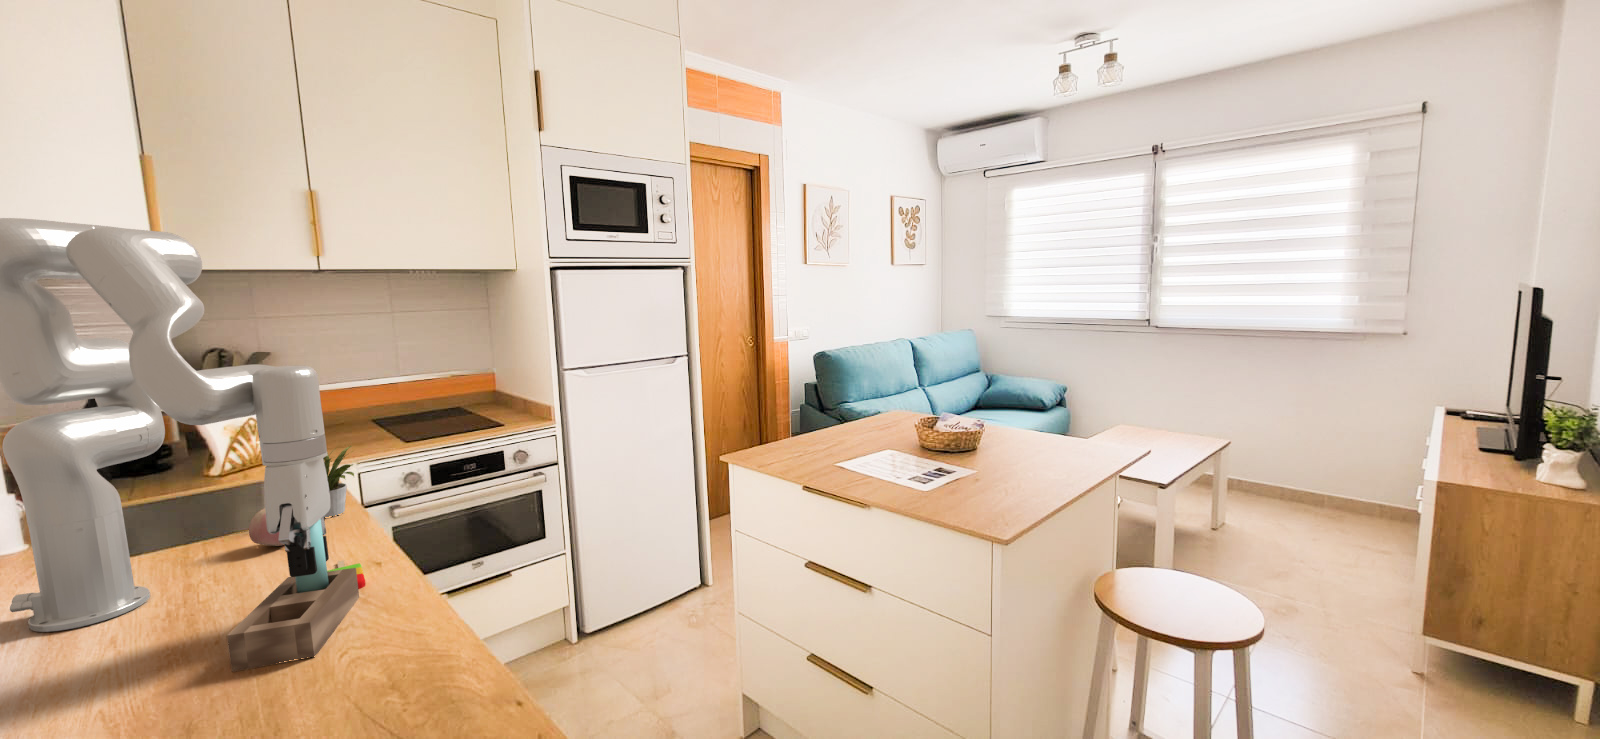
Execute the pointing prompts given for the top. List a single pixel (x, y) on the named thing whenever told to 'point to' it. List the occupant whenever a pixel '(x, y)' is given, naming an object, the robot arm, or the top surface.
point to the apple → (262, 531)
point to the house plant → (337, 483)
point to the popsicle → (358, 570)
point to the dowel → (321, 576)
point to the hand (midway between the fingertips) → (310, 567)
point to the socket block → (292, 622)
